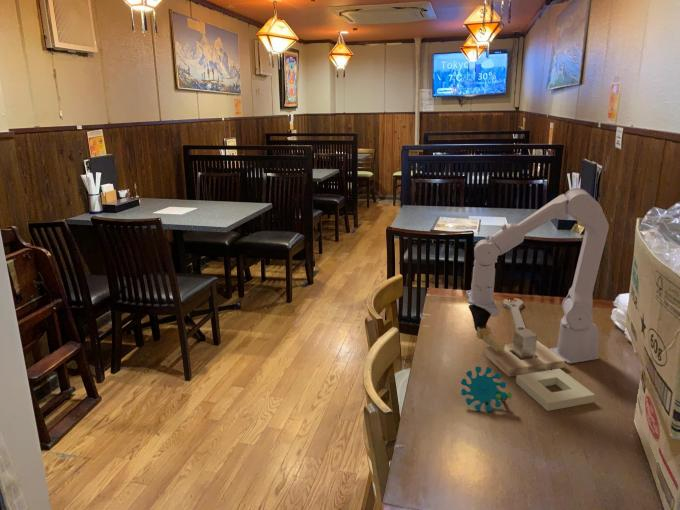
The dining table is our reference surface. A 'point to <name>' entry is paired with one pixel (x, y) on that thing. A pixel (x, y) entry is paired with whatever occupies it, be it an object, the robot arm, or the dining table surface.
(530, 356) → the peg
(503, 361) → the socket block
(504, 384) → the teal virus model
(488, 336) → the tan headed bar
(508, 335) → the dining table surface
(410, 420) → the dining table surface
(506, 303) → the adjustable wrench
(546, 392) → the cream square hole plate
